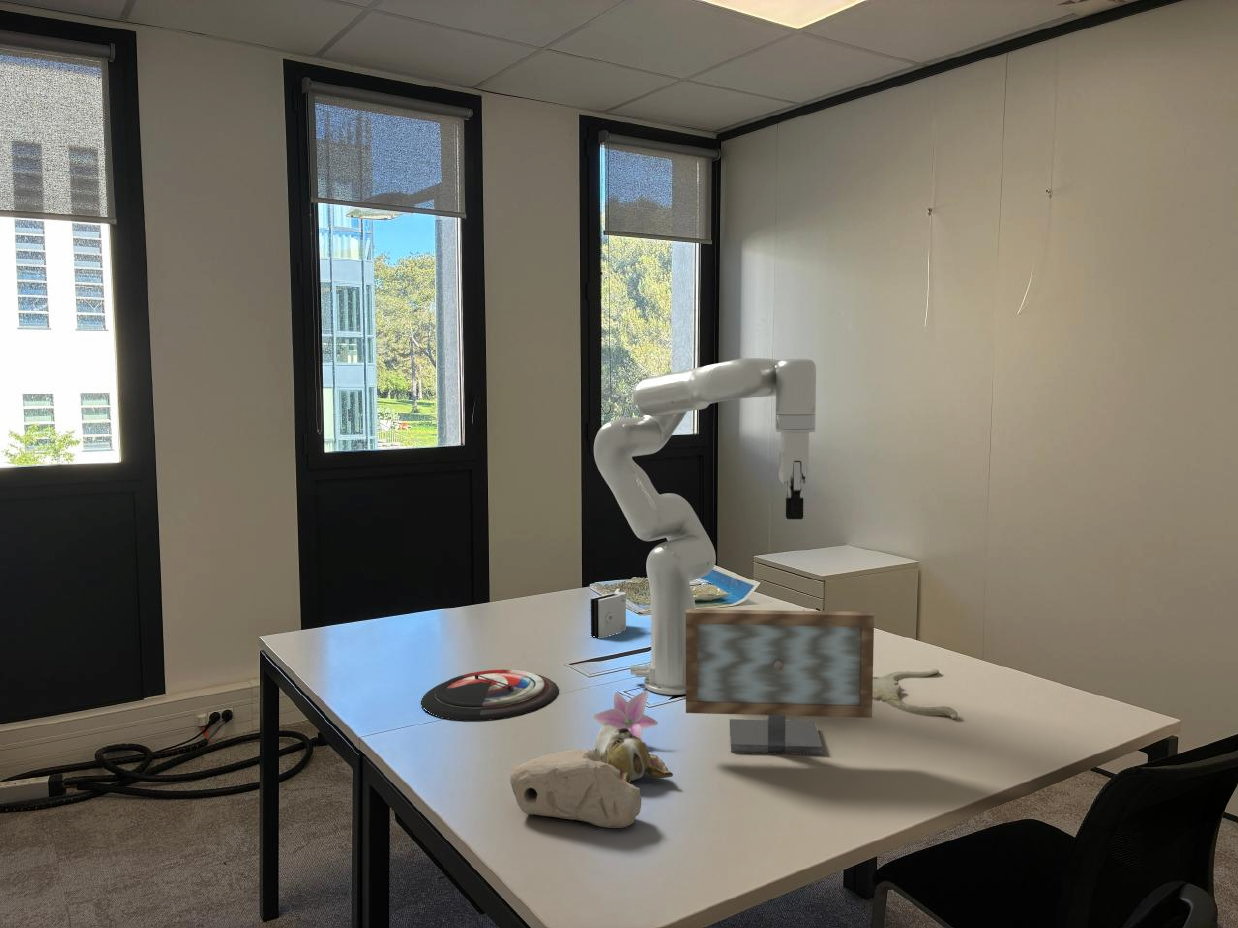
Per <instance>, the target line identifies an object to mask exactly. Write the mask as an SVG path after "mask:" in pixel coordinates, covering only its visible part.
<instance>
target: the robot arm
mask: <svg viewBox="0 0 1238 928" xmlns="http://www.w3.org/2000/svg"><path fill="white" fill-rule="evenodd" d="M816 393H817V366H816V363H815V361H813V360H811V359H808V358H805V359H804V358H786V359H782V360H781V359H774V358H761V357H760V358H755V357H753V358H751V357H750V358H738V359H732V360H727V361H726V360H725V361H722V362H718V363H713V364H708V365H704V366H700V367H699V366H697V367H693V368H690V369H684V370H680V371H675V372H669V373H665V374H658V375H654V376H650V377H646V378H644V379H642V380H641V381H639V383H637V384H636V386H635V387H634V389H633V393H632V401H633V404H634V407H635V408H636V409H637V410H638V412H640V413H642V414H643V416H640V417H639V416H638V417H637V416H636V417H624V418H617V419H613V420H611V421H608V422H606V423H605V424H604V425H602V427H600V428H599V430H598V431H597V433H596V436H595V438H594V444H593V456H594V461H595V464H596V467H597V469H598V471H599V472H600V474H601V477H602V479H604V481H605V483H606V484H607V485H608V487H609V489H610V490H611V492H612V493H613V496H614V497H615V500H616V501H617V504H618V505H619V507H620V509H621V511H622V514H623V515H624V517H625V518H626V520H627V522H628V525H629V527H630V528H631V530H632V532H633V533H634V535H635V536H636V537H637V538H638V539H640V540H641V541H644V542H652V541H657V540H661V539H665V538H666V540H667V541H664V542H662V543H659V544H657V545H656V546H655V547H653V549H652V550H651V551H650V552H649V554H648V555H647V559H646V564H645V565H646V569H645V570H646V575H647V581H648V586H649V595H650V596H649V597H650V635H651V636H650V641H651V642H650V645H651V646H650V650H651V651H650V652H651V654H650V656H651V657H650V659H651V660H650V662H649V664H645V666H644V665H631V666H630V675H635V678H644V681H643V685H644V688H645V689H647V691H650V692H651V693H652V692H653V693H655V694H659V695H660V694H661V695H669V696H672V695H673V696H679V695H680V696H681V695H686V609H696V602H695V597H694V594H693V590H692V588H691V584H690V583H691V582H693V581H695V580H698V579H701V578H703V577H705V576H708V575H709V574H710V573H711V572H712V571H713V569H714V568H715V565H716V562H717V561H716V560H717V558H716V557H717V556H716V551H715V548H714V547H715V546H714V545H713V543H712V541H711V539H710V537H709V535H708V534H707V532H706V530H705V528H704V526H703V525H702V523H701V521H700V519H699V517H698V515H697V513H696V512H695V511H694V508H693V507H692V505H691V504H690V503H689V502H688V501H687V499H685V498H684V497H682V496H681V495H679V494H676V493H671V492H670V493H668V492H667V493H662V494H660V493H658V491H657V490H656V488H655V487H654V485H653V483H652V482H651V479H650V478H649V476H648V474H647V473H646V471H645V470H643V468H642V467H641V466H639V465H638V464H637V463H636V462H635V461H634V459H633V457H638V456H647V455H652V454H655V453H657V452H659V451H660V450H661V449H662V448H664V446H665V445H666V444H667V443H668V442H669V439H670V438H671V437H672V435H673V434H674V432H675V431H676V430H677V428H678V426H680V424H681V422H682V420H683V419H684V418H685V416H686V415H687V413H688V412H691V411H692V412H693V411H697V410H699V411H700V410H705V409H707V408H708V406H709V405H710V404H715V403H720V402H721V403H722V402H726V401H731V400H732V401H733V400H740V399H751V398H767V397H775V432H776V433H777V432H778V433H780V437H779V461H778V463H779V465H778V467H779V468H778V479H779V481H780V482H781V483H782V484H783V485H785V484H786V497H785V518H786V519H787V520H803V519H804V498H803V495H804V485H805V484H807V483H808V482H809V467H810V466H809V465H810V433H815V432H816V413H817V412H816V407H817V406H816V405H817V404H816V402H817V400H816V399H817V397H816V396H817V394H816Z"/></svg>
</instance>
